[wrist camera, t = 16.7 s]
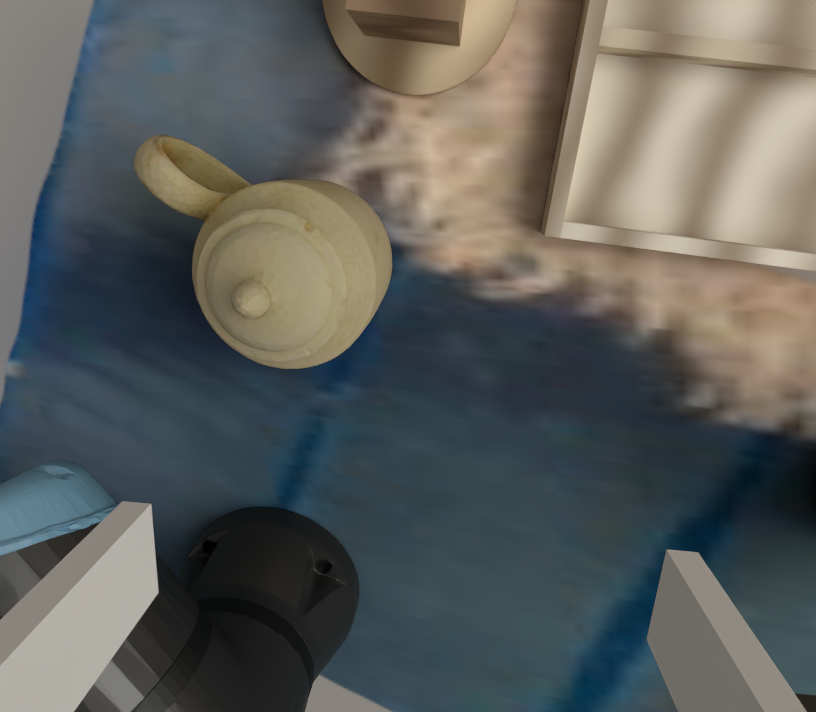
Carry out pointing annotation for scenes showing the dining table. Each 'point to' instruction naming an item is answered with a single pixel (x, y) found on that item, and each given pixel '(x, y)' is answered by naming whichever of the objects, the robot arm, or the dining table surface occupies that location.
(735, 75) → the tray
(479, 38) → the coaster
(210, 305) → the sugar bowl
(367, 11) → the letter cube
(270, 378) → the dining table surface
